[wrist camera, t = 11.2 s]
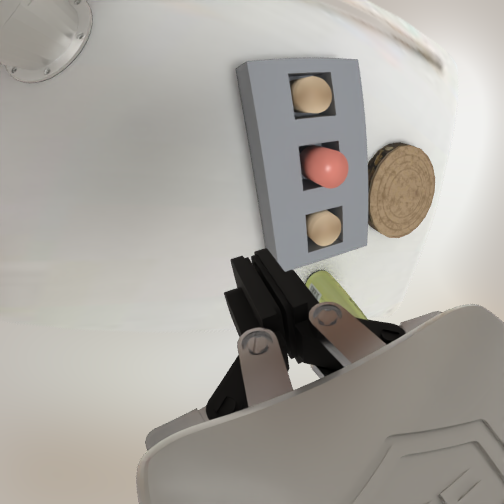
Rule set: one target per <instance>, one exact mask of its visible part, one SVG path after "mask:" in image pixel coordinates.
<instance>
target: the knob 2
mask: <svg viewBox="0 0 504 504" xmlns="http://www.w3.org/2000/svg"><path fill="white" fill-rule="evenodd" d="M305 216H306V228H307V236H308V237H309V238H311V239H312V240H313V241H314V242H315V243H316V244H317V245H320V246H327V245H330V244H332V243H333V242H334V241H335V240H336V239H337V238H338V236H339V235H340V232H341V222H340V220H339V218H338V217H337V216H335V215H334V214H332V213H331V212H329V211H328V210H323V211H319V212H315V213H311V214H307V215H305Z"/></svg>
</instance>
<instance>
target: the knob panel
mask: <svg viewBox="0 0 504 504" xmlns="http://www.w3.org/2000/svg"><path fill="white" fill-rule="evenodd" d="M236 73H237V78H238V84H239V89H240V95H241V101H242V106H243V112H244V118H245V124H246V130H247V136H248V141H249V147H250V153H251V159H252V165H253V171H254V178H255V184H256V190H257V196H258V202H259V208H260V215H261V221H262V227H263V234H264V240H265V247H266V248H267V249H268V250H269V251H270V253H271V254H272V255H273V257H274V258H275V259H276V261H277V262H278V263H279V265H280V266H281V267H282V269H283V270H284V271H285V272H286V271H289V270H293V269H296V268H299V267H302V266H305V265H309V264H312V263H315V262H318V261H321V260H324V259H327V258H330V257H333V256H336V255H339V254H343V253H346V252H349V251H352V250H355V249H358V248H361V247H364V246H367V235H368V158H367V139H366V124H365V113H364V102H363V93H362V85H361V77H360V70H359V63H358V60H357V59H341V58H286V59H269V60H257V61H247V62H245V63H244V64H242V65H241V66H239V67H238V68H236ZM310 76H316V77H319V78H321V79H323V80H324V81H325V82H326V83H327V84H328V85H329V87H330V89H331V93H332V100H331V103H330V105H329V107H328V108H327V109H326V110H325V111H323V112H321V113H298V112H294V109H293V102H292V96H291V89H290V83H289V81H291V80H295V79H300V78H305V77H310ZM311 145H317V146H321V147H325V148H329V149H332V150H336V151H339V152H341V153H342V154H343V155H344V156H345V157H346V159H347V162H348V174H347V177H346V179H345V181H344V182H343V183H342V184H341V185H340V186H338V187H336V188H325V187H323V186H321V185H319V184H317V183H315V182H313V181H311V180H309V179H307V178H306V177H304V176H303V175H302V174H301V165H300V154H301V152H302V151H303V150H304V149H305V148H306V147H308V146H311ZM323 210H328V211H329V212H331V213H332V214H334V215H335V216H337V217H338V218H339V220H340V222H341V232H340V235H339V236H338V238H337V239H336V240H335V241H334V242H333V243H332V244H330V245H327V246H320V245H317V244H316V243H315V242H314V241H313V240H312V239H311V238H309V237H308V236H307V228H306V216H305V215H307V214H311V213H315V212H319V211H323Z"/></svg>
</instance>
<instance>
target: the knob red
mask: <svg viewBox="0 0 504 504" xmlns="http://www.w3.org/2000/svg"><path fill="white" fill-rule="evenodd" d="M300 165H301V174H302V175H303V176H304V177H306V178H307V179H309V180H311V181H313V182H315V183H317V184H319V185H321V186H323V187H325V188H336V187H338V186H340V185H341V184H342V183H343V182H344V181H345V179H346V177H347V174H348V162H347V159H346V157H345V156H344V155H343V154H342V153H341V152H339V151H336V150H332V149H329V148H325V147H321V146H317V145H311V146H308V147H306V148H305V149H304V150H303V151H302V152H301V154H300Z"/></svg>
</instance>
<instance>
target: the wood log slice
mask: <svg viewBox="0 0 504 504" xmlns="http://www.w3.org/2000/svg"><path fill="white" fill-rule="evenodd" d="M434 191H435V175H434V170H433V166H432V163H431V161H430V159H429V157H428V156H427V155H426V154H425V153H424V152H423V151H422V150H421V149H420V148H417V147H414V146H411V145H407V144H403V143H393V144H388V145H387V146H385V147H383V148H382V149H380V150H378V152H377V153H376V154H375V155H374V156H373V158H372V159H371V160H370V161H369V163H368V224H369V225H370V226H371V227H372V228H374V229H375V230H377V231H378V232H380V233H381V234H383V235H385V236H387V237H389V238H400V237H402V236H405V235H407V234H409V233H411V232H412V231H413V230H414V229H416V228H417V227H418V226H419V224H420V223H421V222H422V221H423V219H424V218H425V217H426V214H427V212H428V210H429V208H430V206H431V203H432V199H433V196H434Z"/></svg>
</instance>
